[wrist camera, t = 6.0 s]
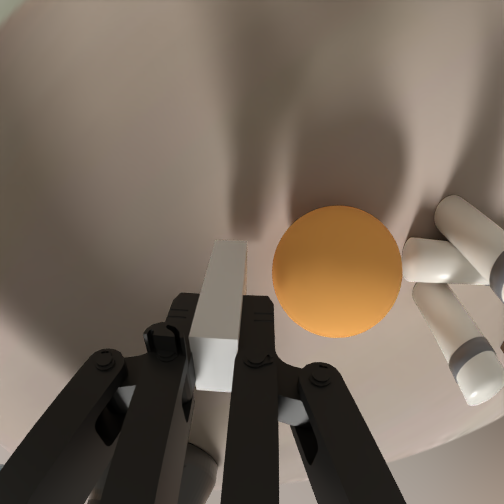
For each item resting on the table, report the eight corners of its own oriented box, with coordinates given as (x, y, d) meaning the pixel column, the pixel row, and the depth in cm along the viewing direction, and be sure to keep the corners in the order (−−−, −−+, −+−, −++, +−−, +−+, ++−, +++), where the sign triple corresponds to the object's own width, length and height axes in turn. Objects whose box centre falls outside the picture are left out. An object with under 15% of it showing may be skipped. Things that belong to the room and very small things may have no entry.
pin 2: (444, 298, 19) (501, 394, 11) (412, 309, 19) (462, 412, 12) (445, 268, 18) (513, 364, 10) (411, 279, 18) (471, 384, 11)
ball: (238, 295, 17) (319, 259, 20) (315, 384, 13) (391, 325, 16) (257, 194, 13) (350, 173, 16) (373, 296, 9) (445, 242, 12)
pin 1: (468, 227, 16) (552, 314, 9) (434, 238, 17) (513, 335, 9) (466, 189, 15) (564, 266, 8) (431, 200, 16) (524, 287, 8)
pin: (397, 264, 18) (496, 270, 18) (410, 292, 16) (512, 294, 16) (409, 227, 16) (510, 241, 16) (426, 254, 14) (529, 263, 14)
